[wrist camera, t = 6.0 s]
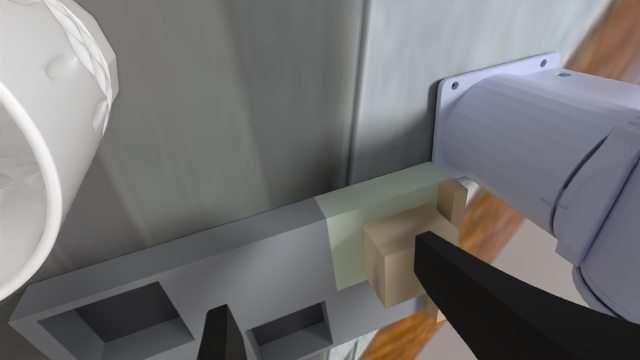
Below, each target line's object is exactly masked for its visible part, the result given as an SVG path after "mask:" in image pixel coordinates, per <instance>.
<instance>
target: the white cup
mask: <svg viewBox="0 0 640 360" xmlns="http://www.w3.org/2000/svg"><path fill="white" fill-rule="evenodd" d="M118 92H119V85H118V73H117V62H116V55H115V53H114V51H113V50H112V48H111V46H110V44H109V43H108V41H107V39H106V38H105V36H104V34H103V32H102V31H101V29H100V27H99V26H98V24H97V22H96V20H95V19H94V17H92V16H91V15H90V14H89V13H88V12H87V11H85V10H84V9H83V8H82V7H81V6H79V5H78V4H77V3H76V2H75V1H73V0H0V301H1V300H3V299H4V298H6V297H7V296H9V295H10V294H12V293H13V292H14V291H16V290H17V289H18V288H19V287H21V286H22V285H23V284H24V283H25V282H26V281H27V280H29V279H30V278H31V277H32V276H33V274H34V273H35V272H36V271H37V270H38V269H39V268H40V266H41V265H42V264H43V262H44V261H45V259H46V258H47V256H48V255H49V253H50V251H51V249H52V247H53V245H54V243H55V241H56V239H57V236H58V234H59V232H60V230H61V228H62V225H63V223H64V221H65V219H66V217H67V215H68V212H69V210H70V208H71V206H72V204H73V202H74V199H75V197H76V195H77V192H78V190H79V188H80V186H81V184H82V182H83V180H84V177H85V175H86V173H87V171H88V169H89V167H90V165H91V163H92V161H93V159H94V157H95V154H96V152H97V149H98V146H99V144H100V141H101V139H102V136H103V134H104V131H105V128H106V126H107V124H108V120H109V115H110V109H111V106H112V104H113V102H114V100H115V98H116V96H117V94H118Z"/></svg>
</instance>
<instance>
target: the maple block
mask: <svg viewBox="0 0 640 360" xmlns="http://www.w3.org/2000/svg"><path fill="white" fill-rule="evenodd" d="M429 230H430V231H431V232H433V233H435V234H437V235H438V236H440V237H442V238H443V239H445V240H447V241H449V242H450V243H452V244H454V245H455V246H456V243H457V237H458V231H459V230H458V229H457V228H456V227H454V226H453V225H452V224H451V223H450V222H449V221H448V220H447V219H446V218H445V217H444V216H442V215H441V214H440V213H439V212H438V211H437V210H436V209H435V208H434V207H433V206H432V205H430V204H429V203H427V204H424V205H421V206H418V207H415V208H412V209H409V210H407V211H404V212H401V213H398V214H395V215H392V216H389V217H386V218H383V219H380V220H377V221H374V222H371V223H368V224H365V225H362V231H363V246H364V261H365V276H366V278H367V279H368V281H369V283H370V284H371V286H372V288H373V289H374V291H375V293H376V294H377V296H378V298H379V299H380V301H381V303H382V305H383V306H384V308H385V310H386V309H388V308H391V307H393V306H395V305H398V304H400V303H403V302H405V301H408V300H410V299H413V298H415V297H418V296H420V295H423V294H425V293H426V291H425V290H424V288H423V286H422V285H421V283H420V281H419V280H418V278H417V276H416V275H415V273H414V271H413V270H414V254H415V237H416V235H418V234H421V233H424V232H427V231H429Z"/></svg>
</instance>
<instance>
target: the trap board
mask: <svg viewBox="0 0 640 360" xmlns="http://www.w3.org/2000/svg"><path fill="white" fill-rule="evenodd" d="M467 193H468V189H467V188H465V187H464V186H463V185H461V184H460V183H459V182H457V181H456V180H455V179H453V178H452V177H450V176H449V175H448V174H446V173H445V172H444V171H442V170H441V169H440V168H438V167H437V166H435V165H434V164H433V163H431V162H430V161H429V162H425V163H422V164H419V165H416V166H412V167H409V168H406V169H403V170H399V171H396V172H393V173H390V174H386V175H383V176H380V177H377V178H373V179H370V180H367V181H364V182H360V183H357V184H354V185H351V186H347V187H344V188H341V189H338V190H334V191H331V192H328V193H325V194H321V195H318V196H315V197H312V198H308V199H305V200H302V201H299V202H295V203H292V204H289V205H286V206H282V207H279V208H276V209H273V210H270V211H266V212H263V213H260V214H257V215H253V216H250V217H247V218H244V219H240V220H237V221H234V222H231V223H227V224H224V225H221V226H218V227H214V228H211V229H208V230H205V231H201V232H198V233H195V234H192V235H188V236H185V237H182V238H179V239H175V240H172V241H169V242H166V243H162V244H159V245H156V246H153V247H149V248H146V249H143V250H140V251H136V252H133V253H130V254H127V255H123V256H120V257H117V258H114V259H110V260H107V261H104V262H101V263H97V264H94V265H91V266H88V267H84V268H81V269H78V270H75V271H71V272H68V273H65V274H62V275H58V276H55V277H52V278H49V279H46V280H42V281H39V282H36V283H33V284H29V285H28V287H27V288H26V290H25V292H24V294H23V296H22V297H21V299H20V301H19V303H18V305H17V306H16V308H15V310H14V312H13V314H12V315H11V317H10V319H9V321H8V324H9V325H10V326H11V327H13V328H14V329H15V330H16V331H17V332H19V333H20V334H21V335H22V336H23V337H24V338H26V339H27V340H28V341H29V342H30V343H31V344H33V345H34V346H35V347H36V348H37V349H38V350H40V351H41V352H42V353H43V354H44V355H45V356H47V357H48V358H49V359H50V360H197V356H198V352H199V348H200V343H201V339H202V335H203V330H204V325H205V319H206V313H207V312H208V310H210V309H213V308H216V307H218V306H221V305H224V304H228V306H229V308H230V311H231V313H232V315H233V317H234V319H235V321H236V323H237V325H238V327H239V330H240V332H241V334H242V336H243V339H244V345H245V350H246V355H247V360H305V359H307V358H310V357H312V356H315V355H317V354H319V353H322V352H324V351H327V350H329V349H331V348H334V347H336V346H338V345H341V344H343V343H346V342H348V341H350V340H353V339H355V338H358V337H360V336H362V335H365V334H367V333H369V332H372V331H374V330H377V329H379V328H381V327H384V326H386V325H389V324H391V323H393V322H396V321H398V320H401V319H403V318H405V317H408V316H410V315H412V314H415V313H417V312H420V311H422V310H424V309H427V311H428V312H429V313H430V315H431V316H432V317H433V319H434V320H435V322H436V323H438V322H440V321H442V320H445V319H446V318H445V316H444V315H443V314H442V313H441V311H440V310H439V309H438V307H437V306H436V305H435V304H434V302H433V301H432V300H431V298H430V297H429V296H428V294H427V293H425V294H423V295H420V296H418V297H415V298H413V299H410V300H408V301H405V302H403V303H400V304H398V305H395V306H393V307H391V308H388V309H386V310H385V308H384V306H383V305H382V303H381V301H380V299H379V298H378V296H377V294H376V293H375V291H374V289H373V288H372V286H371V284H370V283H369V281H368V279H367V278H366V276H365V261H364V246H363V231H362V225H365V224H368V223H371V222H374V221H377V220H380V219H383V218H386V217H389V216H392V215H395V214H398V213H401V212H404V211H407V210H409V209H412V208H415V207H418V206H421V205H424V204H427V203H429V204H430V205H432V206H433V207H434V208H435V209H436V210H437V211H438V212H439V213H440V214H441V215H442V216H444V217H445V218H446V219H447V220H448V221H449V222H450V223H451V224H452V225H453V226H454V227H456V228H457V229H458V230H459V231H458V237H457V243H456V246H457V247H458V246H459V240H460V234H461V228H462V223H463V217H464V211H465V205H466V199H467Z"/></svg>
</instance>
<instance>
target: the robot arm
mask: <svg viewBox="0 0 640 360" xmlns="http://www.w3.org/2000/svg"><path fill="white" fill-rule="evenodd" d="M560 58H561V55H560V53H559V52H550V53H546V54H541V55H537V56H533V57H529V58H525V59H521V60H517V61H513V62H509V63H505V64H501V65H497V66H493V67H489V68H485V69H481V70H477V71H473V72H469V73H465V74H461V75H457V76H453V77H449V78H445V79H443V80H442V81H441V82H440V84H439V86H438V93H437V105H436V117H435V129H434V141H433V153H432V163H433V164H434V165H435V166H437V167H438V168H440V169H441V170H442V171H444V172H445V173H446V174H448V175H449V176H450V177H452V178H453V179H455V180H456V179H459V178H462V177H465V176H467V177H468V178H469V179H471V180H472V181H474V182H475V183H477V184H478V185H480V186H481V187H482V188H484V189H485V190H487V191H488V192H490V193H491V194H493V195H494V196H496V197H497V198H498V199H500V200H501V201H503V202H504V203H506V204H507V205H509V206H510V207H511V208H513V209H514V210H516V211H517V212H519V213H520V214H522V215H523V216H525V217H526V218H527V219H529V220H530V221H532V222H533V223H535V224H536V225H538V226H539V227H541V228H542V229H544V230H545V231H546V232H548V233H549V234H551V235H552V236H554V237H555V238H557V240H558V243H557V247H556V250H555V252H556V253H558V254H559V255H560V256H562V257H563V258H565V259H566V260H567V261H569V262H570V263H571V264H573V270H572V276H573V282H574V284H575V286H576V289H577V290H578V292H579V294H580V295H581V297H582V298H583V299H584V300H585V302H586V303H587V304H588V305H589V306H590V308H591V309H590V308H587V307H585V306H582V305H579V304H576V303H574V302H571V301H568V300H565V299H563V298H561V297H558V296H555V295H553V294H550V293H549V292H546V291H544V290H541V289H539V288H537V287H534V286H532V285H530V284H528V283H526V282H523V281H521V280H519V279H517V278H515V277H513V276H511V275H509V274H507V273H505V272H503V271H501V270H499V269H497V268H495V267H493V266H491V265H489V264H488V263H486V262H484V261H482V260H480V259H478V258H477V257H475V256H473V255H471V254H469V253H468V252H466V251H464V250H462V249H461V248H459V247H457V246H455V245H454V244H452V243H450V242H449V241H447V240H445V239H443V238H442V237H440V236H438V235H437V234H435V233H433V232H431V231H430V230H429V231H427V232H424V233H421V234H418V235H416V237H415V254H414V270H413V271H414V273H415V275H416V276H417V278H418V280H419V281H420V283H421V285H422V286H423V288H424V290H425V291H426V293H427V294H428V296H429V297H430V298H431V300H432V301H433V302H434V304H435V305H436V306H437V307H438V309H439V310H440V311H441V313H442V314H443V315H444V316H445V318H446V319H447V320H448V321H449V322H450V324H451V325H452V326H453V328H454V329H455V330H456V331H457V333H458V334H459V335H460V336H461V338H462V339H463V340H464V342H465V343H466V344H467V345H468V347H469V348H470V349H471V351H472V352H473V353H474V355H475V356H476V358H477V359H478V360H640V86H639V85H635V84H630V83H626V82H621V81H616V80H612V79H607V78H603V77H598V76H594V75H589V74H584V73H580V72H575V71H571V70H566V69H561V68H558V66H559V62H560ZM453 83H455V84H454V86H453V87H452V84H453ZM197 360H247V355H246V350H245V345H244V339H243V336H242V334H241V332H240V330H239V327H238V325H237V323H236V321H235V319H234V317H233V315H232V313H231V311H230V308H229V306H228V304H224V305H221V306H218V307H216V308H213V309H210V310H208V312H207V313H206V319H205V325H204V330H203V335H202V339H201V343H200V348H199V352H198V356H197Z"/></svg>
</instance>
